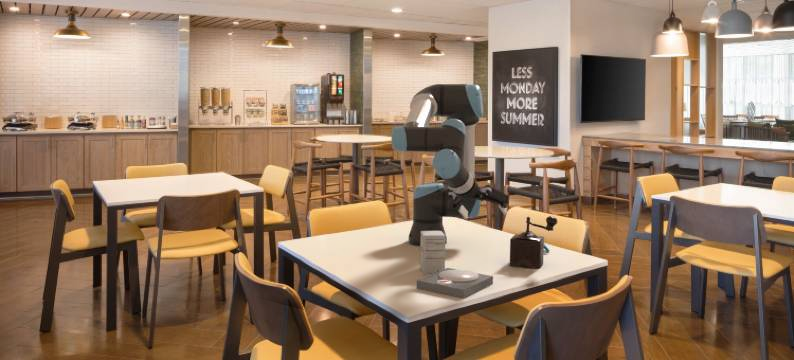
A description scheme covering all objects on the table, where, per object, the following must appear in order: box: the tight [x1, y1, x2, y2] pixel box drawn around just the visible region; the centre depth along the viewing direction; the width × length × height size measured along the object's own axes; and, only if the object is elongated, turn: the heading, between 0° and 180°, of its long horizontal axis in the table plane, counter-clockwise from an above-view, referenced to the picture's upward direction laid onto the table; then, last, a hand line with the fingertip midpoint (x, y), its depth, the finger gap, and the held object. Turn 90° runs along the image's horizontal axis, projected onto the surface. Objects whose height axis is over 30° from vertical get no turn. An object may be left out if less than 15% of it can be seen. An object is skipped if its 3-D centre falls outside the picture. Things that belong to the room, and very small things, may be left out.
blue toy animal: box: [529, 230, 550, 253], centre depth 235 cm, size 11×6×10 cm
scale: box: [416, 267, 494, 299], centre depth 188 cm, size 16×18×3 cm
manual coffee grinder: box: [508, 215, 558, 270], centre depth 213 cm, size 16×11×18 cm
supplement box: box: [419, 231, 446, 274], centre depth 205 cm, size 7×7×13 cm
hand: (486, 213), depth 207 cm, fingers open, 13 cm apart
